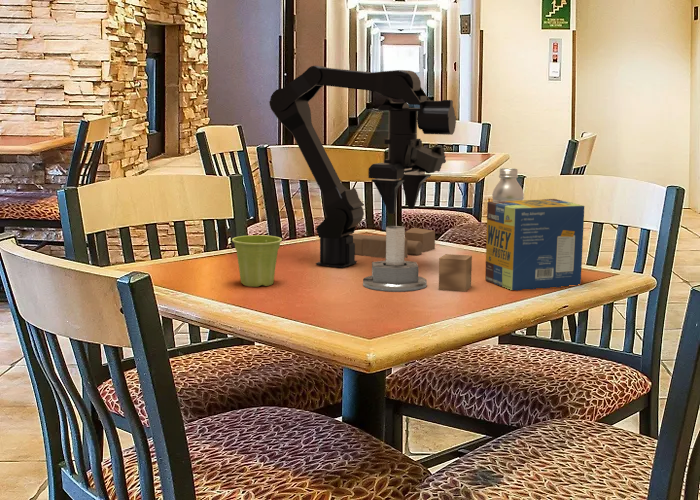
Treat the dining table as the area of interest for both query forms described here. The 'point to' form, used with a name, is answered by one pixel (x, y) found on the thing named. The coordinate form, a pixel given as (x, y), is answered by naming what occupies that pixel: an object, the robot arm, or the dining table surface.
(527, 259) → the protein box
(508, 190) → the plastic bottle
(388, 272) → the socket
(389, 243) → the tan elongated piece
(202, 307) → the dining table surface
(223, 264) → the dining table surface
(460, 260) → the brown wooden block
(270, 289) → the dining table surface
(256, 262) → the plant pot
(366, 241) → the wooden block set
